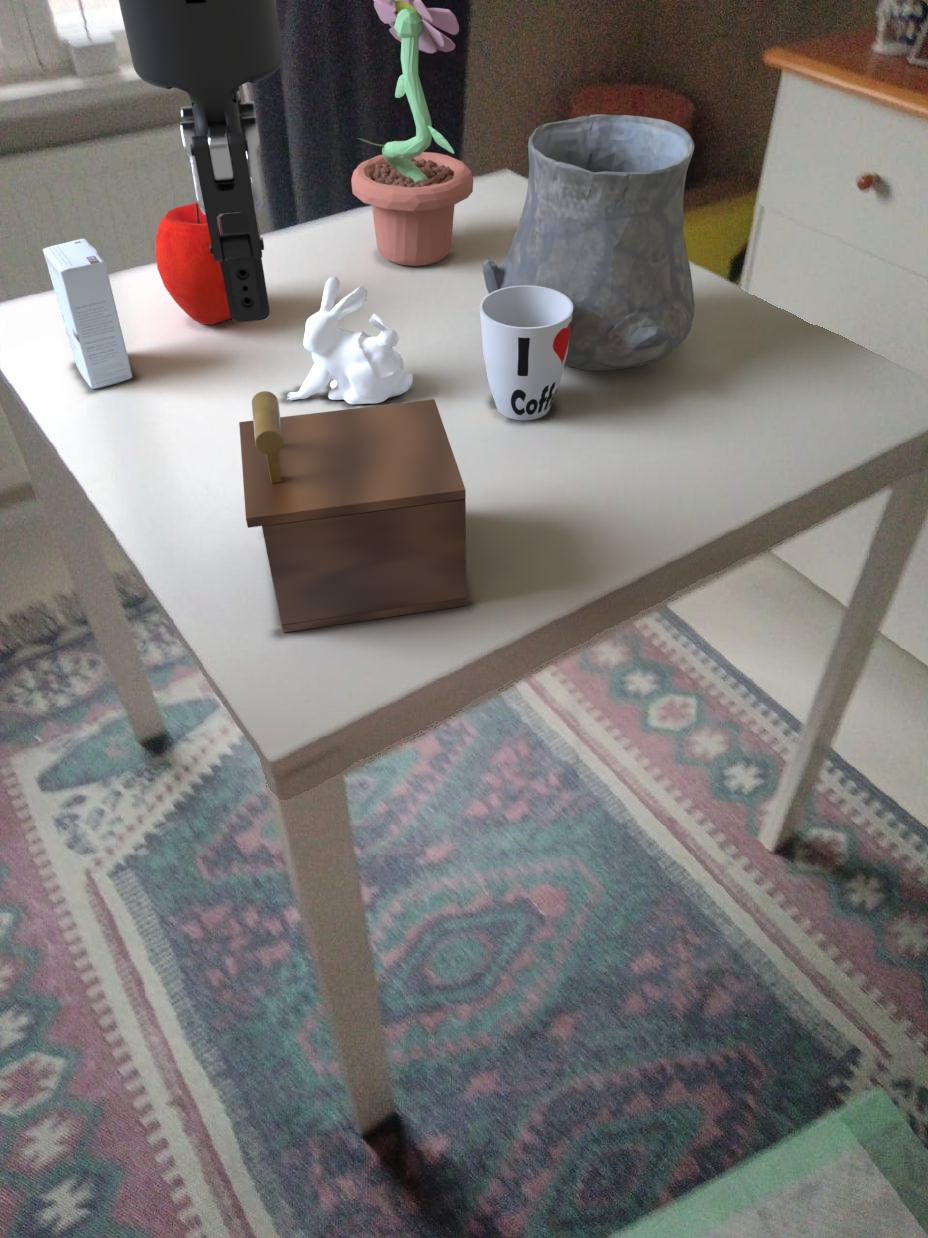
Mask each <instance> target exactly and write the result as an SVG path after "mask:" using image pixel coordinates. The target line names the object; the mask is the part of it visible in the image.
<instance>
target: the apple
mask: <svg viewBox="0 0 928 1238" xmlns="http://www.w3.org/2000/svg"><path fill="white" fill-rule="evenodd" d="M158 223H159V224H158V226H157V227H158V228H157V231H156V238H155V260H156V268H157V272H158V273H159V276H160V280H161V281H162V284H163V286H164V288H165V290H166V291H167V292H168V294H169V295H170V297H171V298H172V299H173V301H174V302H175V303H176V304H177V305H178V307H179V308H180V309H181V310H183V312H185V313H186V315H187V316H189V318H190V319H192V320H193V321H195V322H196V323H199V324H203V325H215V324H219V323H223V322H225V321H228V320H230V319H232V318H231V316H230V312H229V307H228V301H227V296H226V291H225V286H224V281H223V275H222V270H221V265H220V262H215V260H214V255H211V253H210V247H209V245H210V244H211V239H210V234H209V229H208V224H207V219H206V215H204V214H203V213H202V212H201V210H200V207H199V205H198V202H197V201H196V202H193V203H189V204H185V205H180V206H176V207H175V208H173V209H170V210H168V212H167V213H165V214H164V216H163V217H162V219H160V222H158ZM220 223H221V220H220ZM221 229H222V226H221ZM222 234H223V231H222Z"/></svg>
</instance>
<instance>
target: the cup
mask: <svg viewBox="0 0 928 1238" xmlns="http://www.w3.org/2000/svg"><path fill="white" fill-rule="evenodd" d="M572 314H573V304H572V302H571V300H570V299H569V298H568V297H567V296H566V295H564V294H562V293H561V292H558V291H556V290H553V289H550V288H546V287H540V286H529V285H523V286H511V287H506V288H502V289H499V290H496V291H494V292H492V293H490V294H489V293H488V294H487V295H485V296H484V297H483V298H482V299H481V301H480V304H479V315H480V327H481V328H480V329H481V343H482V354H483V361H484V365H485V370H486V377H487V382H488V387H489V389H490V392H491V395H492V398H493V401H494V404H495V406H496V409H497V412H499V414H501V415H502V416H503V417H505V418H507V419H510V420H514V421H533V420H537V419H540V418H542V417H544V416H546V415H547V414H548V413H549V411H550V409H551V407H552V404H553V403H554V400H555V398H556V395H557V392H558V389H559V387H560V384H561V381H562V377H563V373H564V368H565V365H564V364H565V360H566V356H567V352H568V344H569V337H570V329H571V321H572Z"/></svg>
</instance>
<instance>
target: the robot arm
mask: <svg viewBox="0 0 928 1238" xmlns="http://www.w3.org/2000/svg"><path fill="white" fill-rule="evenodd" d="M118 3H119V8H120V13H121V17H122V22H123V26H124V31H125V35H126V39H127V44H128V49H129V52H130V53H129V54H130V58H131V61H132V67H133V70H134V71H135V73H136V74H137V76H138V77H139V78H140V79H141V80H143V81H144V82H145V83H147V84H149V85H152V86H153V87H157V88H159V89H160V88H161V89H165V90H171V89H178V90H181V91H183V92H185V93H187V95H188V96H189V99H190V102H191V105H187V106H180V114H181V115H180V116H181V120H182V121H179V126H180V127H179V128H180V133H181V139H182V145H183V149H184V152H185V154H186V157H187V158H188V160H189V161H190V165H191V171H192V177H193V178H192V179H193V184H194V191H195V197H196V202H198V205H199V207H200V210H201V212H202V213H203V214H204V215H206V219H207V224H208V229H209V234H210V239H211V244H210V245H209V247H210V253H211V255H214V260H215V262H220V265H221V270H222V275H223V281H224V286H225V291H226V296H227V301H228V307H229V312H230V316H231V318H230V319H231V320H233V321H234V322H236V323H247V322H256V321H257V322H258V321H265V320H266V319H268V318H269V316H270V314H271V309H270V302H269V296H268V289H267V283H266V277H265V272H264V265H263V251H264V250H265V242H264V237H261V232H260V225H259V219H258V215H259V212H261V211H262V210H263V209H264V207H265V198H264V191H263V184H262V178H261V171H260V161H259V156H260V154H261V152H262V145H261V139H260V132H259V125H258V118H257V112H256V111H257V110H256V107H255V106H256V105H255V100H254V101H242V98H241V92H240V87H241V86H242V85H244V84H246V83H252V84H255V83H258V82H260V81H263V80H266V79H267V78H269V77H271V76H272V75H274V74H275V73H276V72H277V71H278V70H279V69H280V67H281V65H282V63H283V57H284V55H283V47H282V38H281V29H280V23H279V15H278V8H277V0H118ZM220 220H221V223H220ZM221 226H222V229H221ZM222 231H223V234H222Z"/></svg>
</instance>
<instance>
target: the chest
mask: <svg viewBox="0 0 928 1238" xmlns="http://www.w3.org/2000/svg"><path fill="white" fill-rule="evenodd" d="M466 501H467V500H466V499H462V500H454V501H447V502H439V503H432V504H424V505H416V506H409V507H401V508H394V509H386V510H379V511H371V512H364V513H356V514H349V515H341V516H333V517H326V518H318V519H311V520H303V521H296V522H288V523H281V524H273V525H265V526H261V529H262V535H263V539H264V544H265V550H266V555H267V561H268V565H269V570H270V576H271V580H272V586H273V590H274V595H275V600H276V606H277V610H278V615H279V621H280V624H281V630H282V633H291V632H297V631H303V630H309V629H317V628H325V627H331V626H338V625H344V624H345V625H346V624H352V623H358V622H364V621H371V620H379V619H385V618H392V617H397V616H406V615H413V614H419V613H426V612H432V611H439V610H446V609H453V608H460V607H466V606H467V605H468V598H467V597H468V596H467V595H468V593H467V592H468V590H467V586H468V585H467V583H468V581H467V580H468V579H467V578H468V577H467V514H466V513H467V510H466V509H467V508H466V507H467V506H466Z"/></svg>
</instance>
